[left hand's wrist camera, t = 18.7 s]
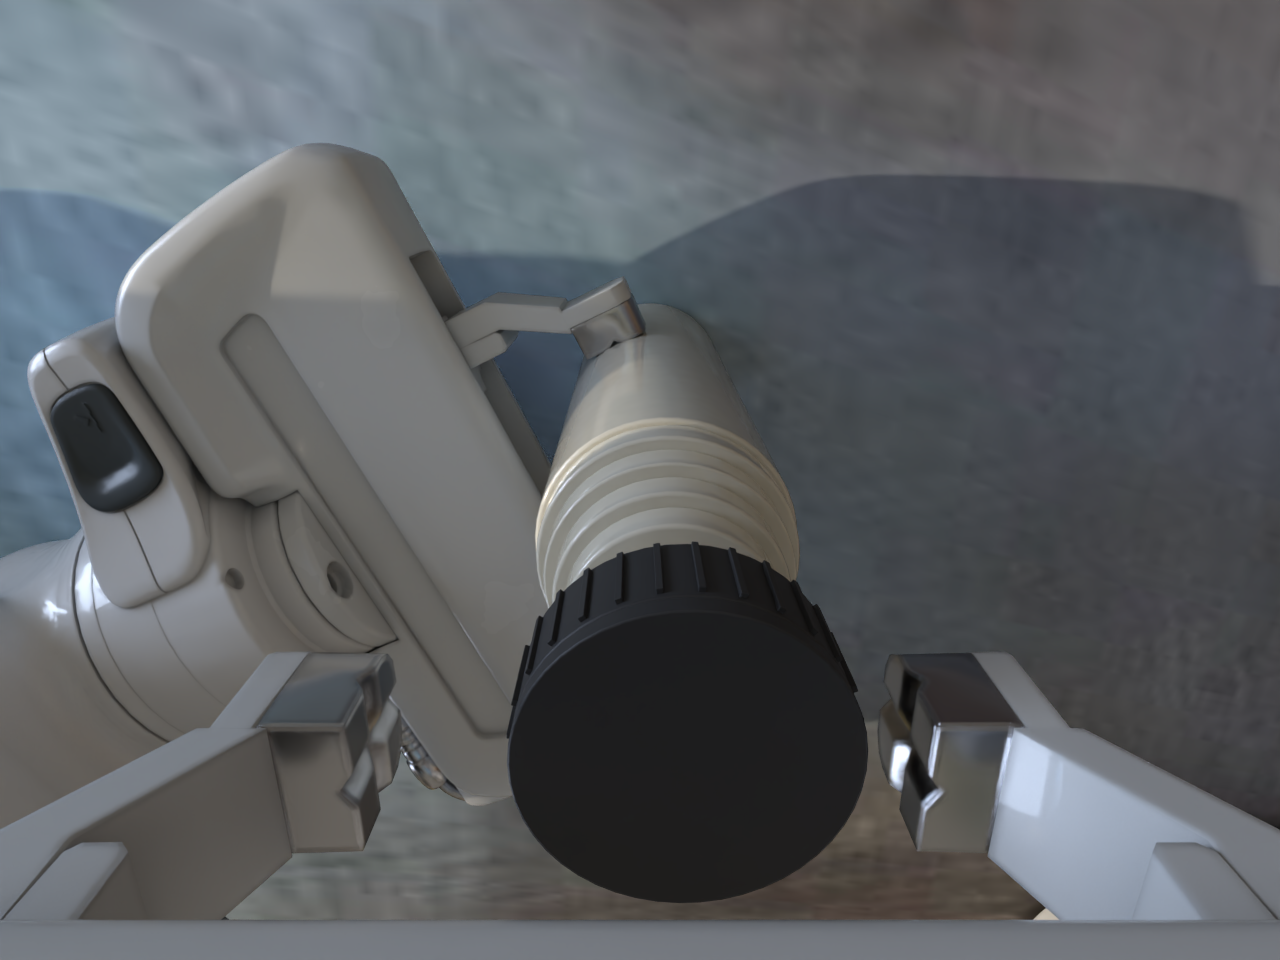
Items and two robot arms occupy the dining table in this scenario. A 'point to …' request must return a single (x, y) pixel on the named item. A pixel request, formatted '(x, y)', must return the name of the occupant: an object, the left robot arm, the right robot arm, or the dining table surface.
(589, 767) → the cap
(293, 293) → the right robot arm
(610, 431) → the bottle
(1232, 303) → the dining table surface
